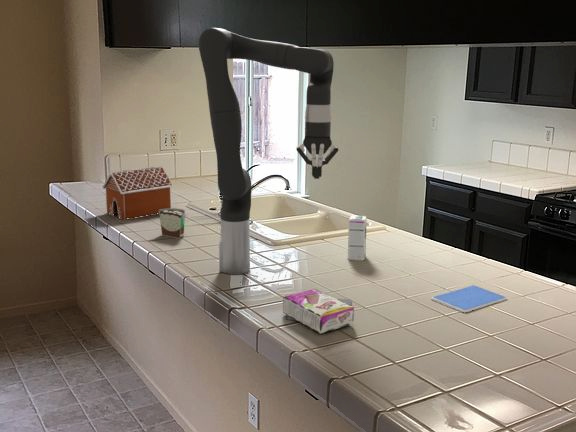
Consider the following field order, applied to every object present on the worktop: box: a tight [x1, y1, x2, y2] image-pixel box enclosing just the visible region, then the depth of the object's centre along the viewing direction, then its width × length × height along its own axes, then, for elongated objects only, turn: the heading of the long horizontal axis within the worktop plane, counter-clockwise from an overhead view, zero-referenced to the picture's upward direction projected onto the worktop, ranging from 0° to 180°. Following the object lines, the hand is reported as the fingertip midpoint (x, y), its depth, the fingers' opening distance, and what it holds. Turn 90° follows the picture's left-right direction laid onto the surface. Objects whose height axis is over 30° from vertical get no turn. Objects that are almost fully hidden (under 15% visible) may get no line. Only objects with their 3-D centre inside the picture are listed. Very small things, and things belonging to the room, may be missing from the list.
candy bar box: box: [282, 288, 355, 334], centre depth 163 cm, size 11×5×16 cm
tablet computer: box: [431, 285, 508, 314], centre depth 180 cm, size 19×13×1 cm, turn 125°
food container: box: [157, 207, 188, 240], centre depth 240 cm, size 12×6×10 cm, turn 58°
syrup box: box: [347, 214, 367, 262], centre depth 215 cm, size 6×6×14 cm
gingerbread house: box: [102, 165, 174, 220], centre depth 274 cm, size 18×26×20 cm
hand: (316, 178), depth 187 cm, fingers closed
